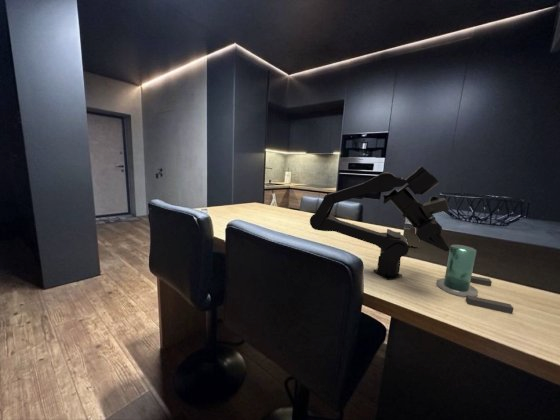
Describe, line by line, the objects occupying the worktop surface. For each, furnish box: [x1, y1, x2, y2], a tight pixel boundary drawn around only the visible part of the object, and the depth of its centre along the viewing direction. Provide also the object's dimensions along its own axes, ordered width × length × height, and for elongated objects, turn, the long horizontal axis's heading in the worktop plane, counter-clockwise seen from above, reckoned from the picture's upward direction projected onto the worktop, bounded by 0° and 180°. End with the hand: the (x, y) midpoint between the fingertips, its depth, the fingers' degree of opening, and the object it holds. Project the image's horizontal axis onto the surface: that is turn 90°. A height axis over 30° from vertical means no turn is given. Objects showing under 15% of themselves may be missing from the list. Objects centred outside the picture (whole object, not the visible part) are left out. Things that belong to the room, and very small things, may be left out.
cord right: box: [465, 295, 514, 314], centre depth 62 cm, size 9×2×2 cm, turn 64°
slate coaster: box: [435, 277, 479, 298], centre depth 71 cm, size 10×10×1 cm
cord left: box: [470, 275, 493, 287], centre depth 75 cm, size 9×2×2 cm, turn 64°
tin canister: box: [444, 244, 477, 292], centre depth 69 cm, size 6×6×12 cm
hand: (445, 245), depth 70 cm, fingers open, 9 cm apart
